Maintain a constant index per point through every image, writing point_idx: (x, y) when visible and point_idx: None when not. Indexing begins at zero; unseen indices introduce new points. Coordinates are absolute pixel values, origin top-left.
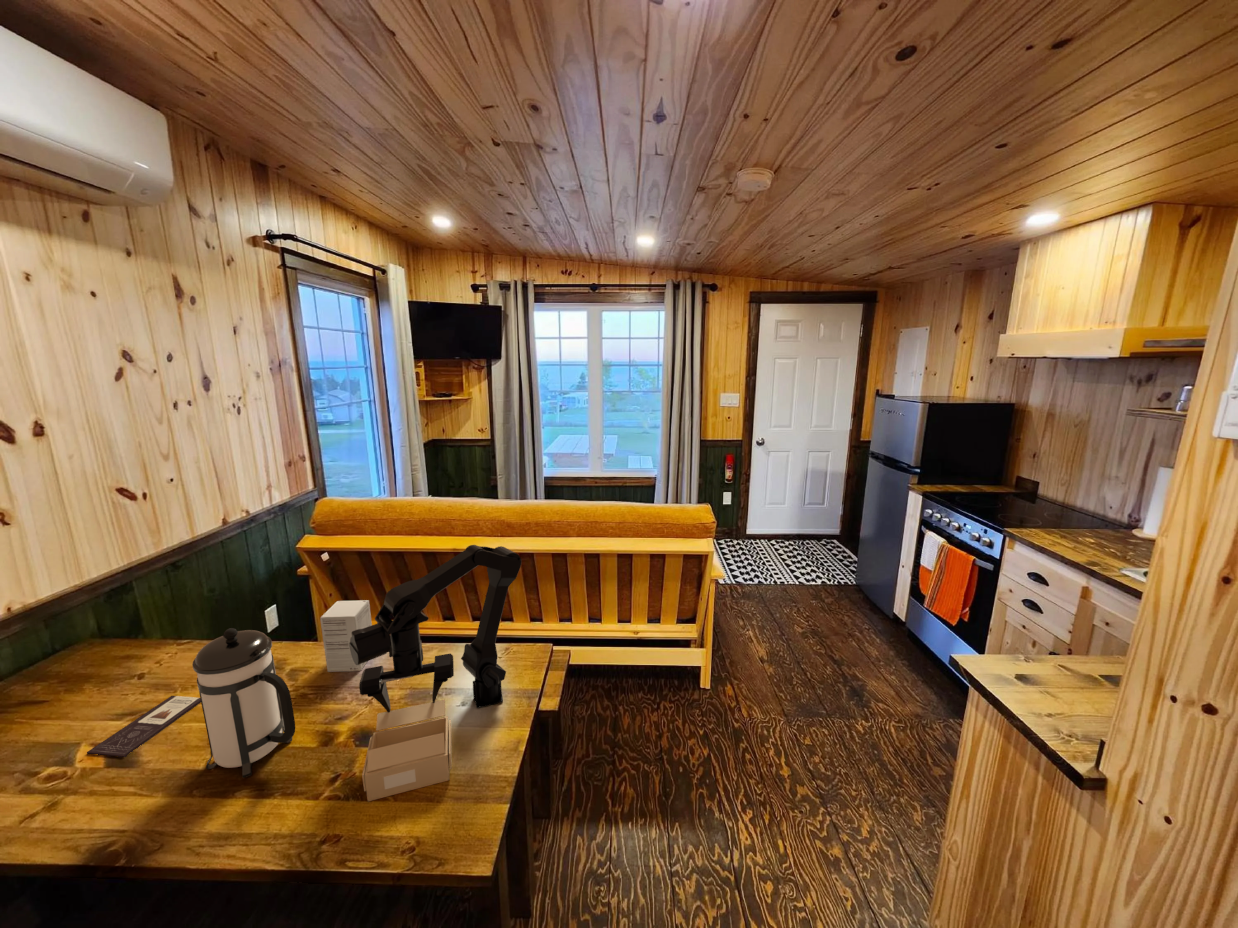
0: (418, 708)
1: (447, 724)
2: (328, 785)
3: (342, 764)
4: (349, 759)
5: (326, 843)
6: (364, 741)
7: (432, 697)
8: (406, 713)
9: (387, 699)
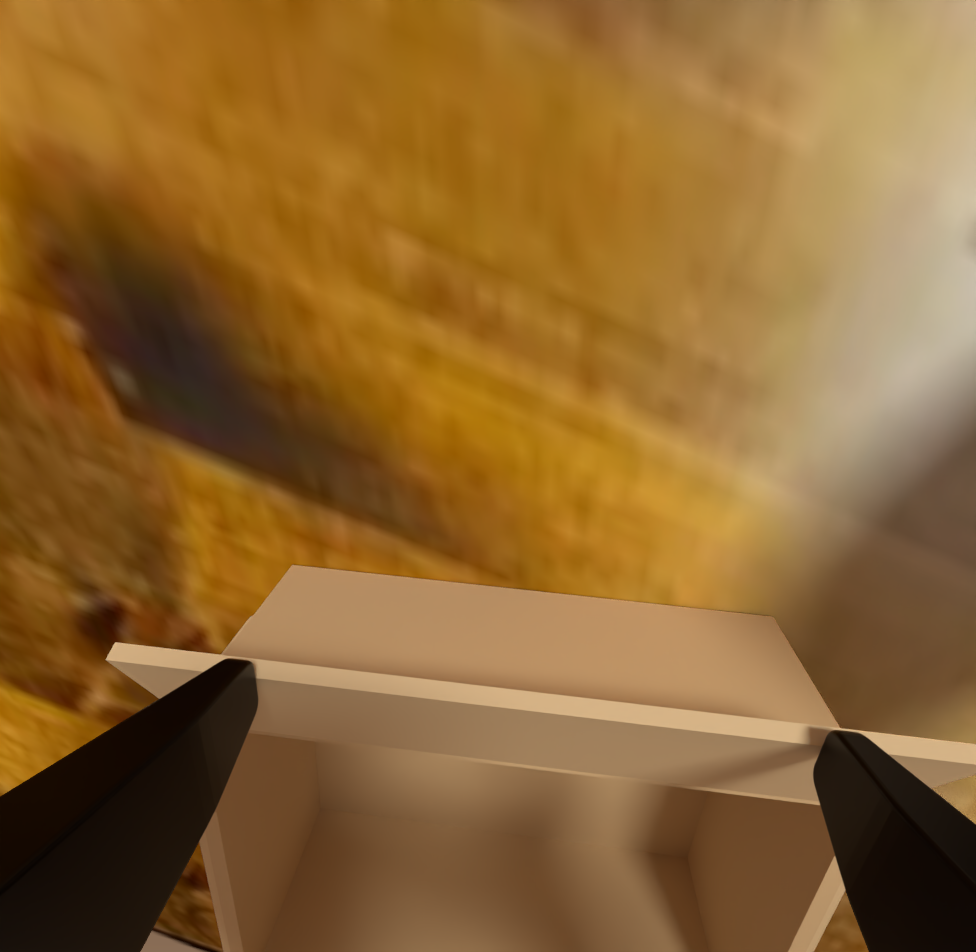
0: (608, 731)
1: (839, 876)
2: (87, 655)
3: (100, 543)
4: (127, 520)
5: (204, 890)
6: (171, 389)
7: (869, 950)
8: (463, 723)
9: (100, 930)
